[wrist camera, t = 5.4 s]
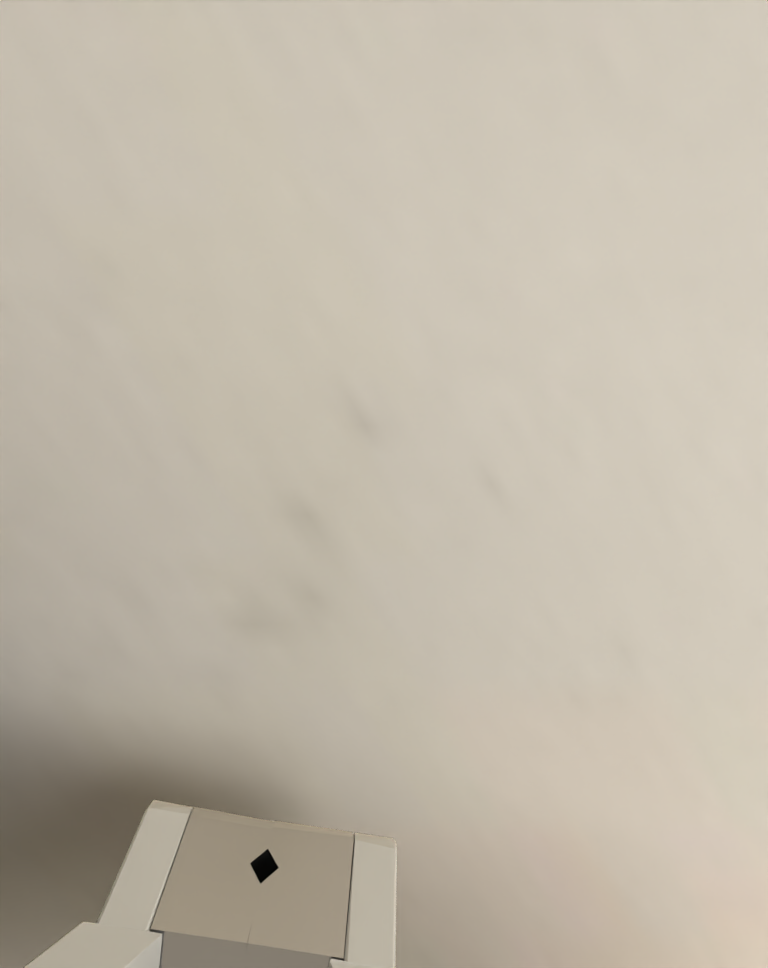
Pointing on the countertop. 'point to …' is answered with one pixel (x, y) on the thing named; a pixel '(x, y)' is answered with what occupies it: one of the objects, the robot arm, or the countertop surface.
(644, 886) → the countertop surface
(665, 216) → the countertop surface
